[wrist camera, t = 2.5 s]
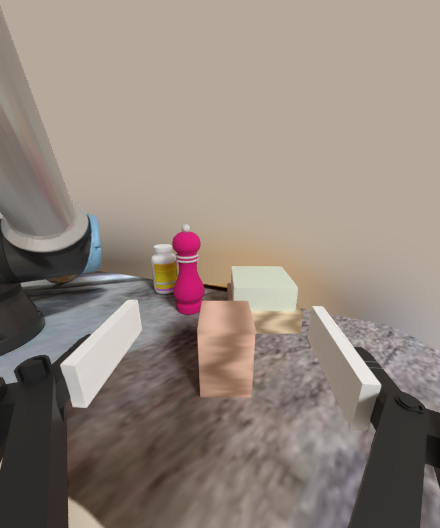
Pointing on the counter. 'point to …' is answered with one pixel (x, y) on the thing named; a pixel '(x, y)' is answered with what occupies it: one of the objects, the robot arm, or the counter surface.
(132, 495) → the counter surface
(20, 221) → the robot arm
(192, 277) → the pepper mill
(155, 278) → the supplement bottle
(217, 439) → the counter surface
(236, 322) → the clay pillar block
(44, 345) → the counter surface
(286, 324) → the oak base block
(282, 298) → the sage top block
